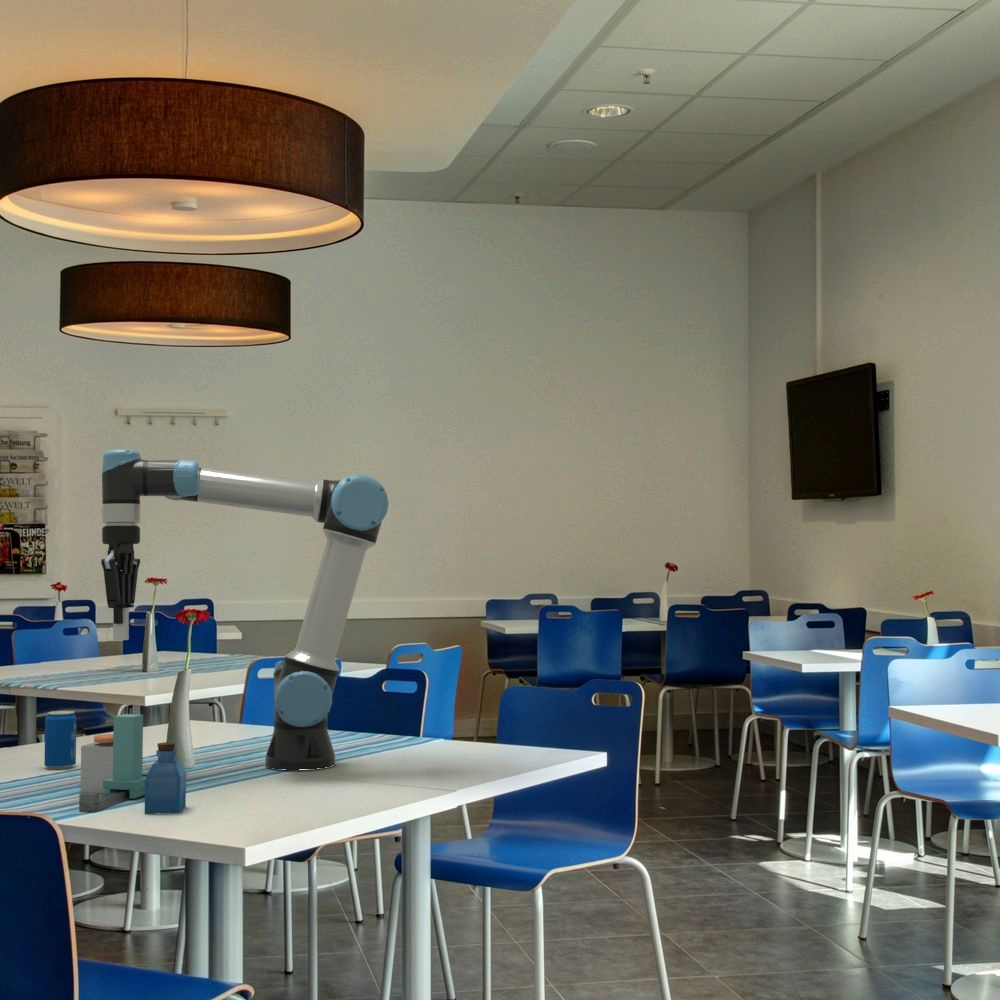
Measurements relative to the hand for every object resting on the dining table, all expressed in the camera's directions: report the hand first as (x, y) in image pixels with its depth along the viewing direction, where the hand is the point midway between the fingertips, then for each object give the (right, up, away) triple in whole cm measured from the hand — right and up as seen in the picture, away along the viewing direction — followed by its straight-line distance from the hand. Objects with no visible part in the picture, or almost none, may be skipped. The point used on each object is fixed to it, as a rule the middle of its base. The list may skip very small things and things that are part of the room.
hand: (120, 639), depth 267 cm
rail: (+6, -28, -22) cm, 36 cm away
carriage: (+7, -28, -19) cm, 34 cm away
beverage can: (-18, -30, +16) cm, 38 cm away
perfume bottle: (+17, -28, -32) cm, 46 cm away
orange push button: (+1, -24, -12) cm, 26 cm away
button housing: (+1, -28, -12) cm, 31 cm away
